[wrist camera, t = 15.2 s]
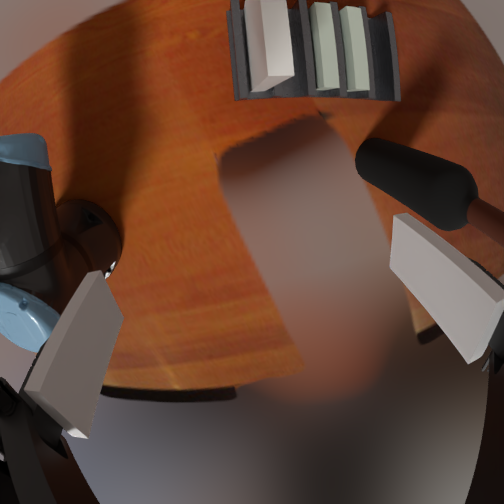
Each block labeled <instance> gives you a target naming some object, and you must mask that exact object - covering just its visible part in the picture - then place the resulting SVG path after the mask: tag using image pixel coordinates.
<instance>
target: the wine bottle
mask: <svg viewBox="0 0 504 504" xmlns="http://www.w3.org/2000/svg"><path fill="white" fill-rule="evenodd" d="M355 164H356V169H357V171H358V174H359V175H360V176H361V177H362V178H363V179H364V180H366V181H367V182H369V183H371V184H372V185H374V186H376V187H377V188H379V189H381V190H382V191H384V192H385V193H387V194H389V195H390V196H392V197H393V198H395V199H396V200H398V201H399V202H401V203H403V204H404V205H406V206H407V207H409V208H410V209H412V210H413V211H414V212H416V213H417V214H419V215H420V216H422V217H423V218H425V219H426V220H427V221H429V222H430V223H432V224H433V225H434V226H436V227H437V228H439V229H441V230H445V231H452V230H456V229H460V228H462V227H464V226H465V225H466V224H467V223H469V224H471V225H473V226H474V227H476V228H477V229H479V230H480V231H482V232H483V233H484V234H486V235H487V236H489V237H490V238H492V239H493V240H494V241H496V242H497V243H498V244H500V245H501V246H502V247H504V212H502V211H501V210H499V209H497V208H496V207H494V206H492V205H490V204H489V203H487V202H485V201H483V200H481V199H480V198H479V197H478V188H477V185H476V183H475V180H474V178H473V176H472V174H471V173H470V172H469V171H468V170H467V169H466V168H464V167H463V166H461V165H458V164H456V163H453V162H451V161H448V160H445V159H443V158H440V157H437V156H434V155H431V154H428V153H425V152H422V151H419V150H416V149H413V148H410V147H407V146H403V145H400V144H397V143H393V142H390V141H386V140H383V139H379V138H371V139H369V140H367V141H365V142H364V143H363V144H362V145H361V146H360V147H359V149H358V151H357V153H356V158H355Z"/></svg>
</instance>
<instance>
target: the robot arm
mask: <svg viewBox="0 0 504 504" xmlns="http://www.w3.org/2000/svg"><path fill="white" fill-rule="evenodd" d="M51 171H52V168H51V166H50V165H49V158H48V151H47V144H46V141H45V139H44V138H43V137H42V136H41V135H39V134H35V133H24V134H13V135H5V136H0V332H1V333H2V334H3V335H4V336H5V337H6V338H7V339H9V340H10V341H12V342H13V343H15V344H16V345H18V346H20V347H22V348H24V349H26V350H29V351H32V352H38V353H37V355H36V359H34V361H33V363H32V366H31V367H30V369H29V371H28V374H27V376H26V378H25V380H24V382H23V384H22V387H21V389H20V391H19V393H17V392H16V391H15V390H14V389H13V388H12V387H11V386H10V385H9V383H8V382H7V381H6V380H5V379H4V378H2V377H0V453H1V454H2V455H3V456H4V461H1V460H0V504H100V503H99V502H98V500H97V498H96V497H95V495H94V493H93V492H92V490H91V488H90V486H89V485H88V483H87V481H86V479H85V478H84V476H83V474H82V472H81V470H80V468H79V466H78V464H77V462H76V460H75V459H74V456H73V454H72V452H71V450H70V448H69V445H68V443H67V441H66V439H65V438H64V437H63V436H62V435H61V433H62V429H64V430H66V431H67V432H68V433H69V434H70V435H71V436H73V437H80V438H87V439H88V438H89V434H90V430H91V426H92V421H93V418H94V414H95V410H96V405H97V402H98V398H99V395H100V391H101V387H102V384H103V380H104V377H105V374H106V370H107V367H108V364H109V361H110V357H111V354H112V351H113V348H114V345H115V342H116V339H117V336H118V333H119V330H120V327H121V325H122V322H123V319H124V317H123V315H122V313H121V311H120V309H119V307H118V305H117V303H116V301H115V299H114V297H113V295H112V293H111V291H110V289H109V287H108V284H107V282H106V280H105V279H106V278H108V277H109V276H110V275H111V273H112V272H113V271H114V269H115V267H116V266H117V264H118V262H119V259H120V256H121V239H120V235H119V232H118V229H117V227H116V225H115V223H114V222H113V220H112V219H111V217H110V216H109V215H108V214H107V213H106V212H105V211H104V210H103V209H102V208H100V207H99V206H97V205H96V204H94V203H92V202H89V201H86V200H70V201H67V202H65V203H63V204H62V205H60V206H59V207H58V208H56V204H55V198H54V192H53V185H52V177H51ZM389 267H390V268H391V270H392V271H393V272H394V273H395V274H396V275H397V276H398V277H399V279H400V280H401V281H402V282H403V283H404V284H405V285H406V286H407V288H408V289H409V290H410V291H411V292H412V293H413V295H414V296H415V297H416V298H417V299H418V300H419V302H420V303H421V304H422V305H423V306H424V308H425V309H426V310H427V311H428V312H429V314H430V315H431V316H432V317H433V319H434V320H435V321H436V322H437V324H438V325H439V326H440V327H441V329H442V330H443V331H444V332H445V334H446V335H447V336H448V338H449V339H450V340H451V342H452V343H453V344H454V345H455V347H456V348H457V349H458V351H459V352H460V353H461V355H462V356H463V357H464V359H465V360H466V362H467V363H468V364H469V363H471V362H473V361H474V360H476V359H478V358H480V357H481V356H482V355H483V353H484V351H485V349H486V347H487V346H488V344H489V346H490V347H491V348H492V351H491V352H490V354H489V356H488V358H487V360H486V361H485V363H484V365H483V367H482V371H484V370H485V368H486V366H487V365H488V364H489V369H488V370H487V372H489V379H488V380H489V381H488V395H487V405H486V414H485V422H484V428H483V434H482V440H481V445H480V450H479V455H478V459H477V464H476V468H475V472H474V475H473V479H472V483H471V486H470V489H469V493H468V496H467V499H466V502H465V504H504V285H503V284H502V283H501V282H500V281H499V280H497V279H496V278H495V277H493V276H492V274H491V273H490V272H488V271H486V269H485V268H484V267H483V266H481V265H480V264H479V263H478V262H476V261H474V260H472V259H470V258H468V257H465V256H464V255H463V254H462V253H460V252H459V251H458V250H457V249H455V248H454V247H453V246H452V245H450V244H449V243H448V242H446V241H445V240H444V239H443V238H441V237H440V236H439V235H437V234H436V233H435V232H433V231H432V230H431V229H429V228H428V227H426V226H425V225H424V224H422V223H421V222H419V221H418V220H417V219H415V218H414V217H412V216H411V215H409V214H408V213H403V214H397V215H394V217H393V234H392V246H391V257H390V266H389Z"/></svg>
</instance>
